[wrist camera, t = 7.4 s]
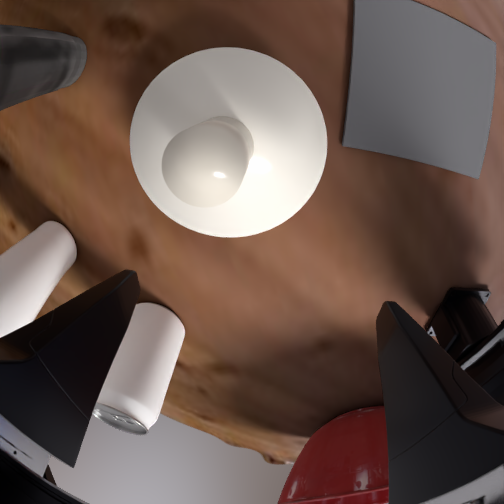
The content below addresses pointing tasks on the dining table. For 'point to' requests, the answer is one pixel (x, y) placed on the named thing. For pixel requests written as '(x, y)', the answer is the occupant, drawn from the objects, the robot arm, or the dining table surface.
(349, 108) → the mat
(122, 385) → the can
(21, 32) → the beverage cup
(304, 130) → the lid
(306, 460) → the mixing bowl
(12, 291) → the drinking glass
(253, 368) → the dining table surface
